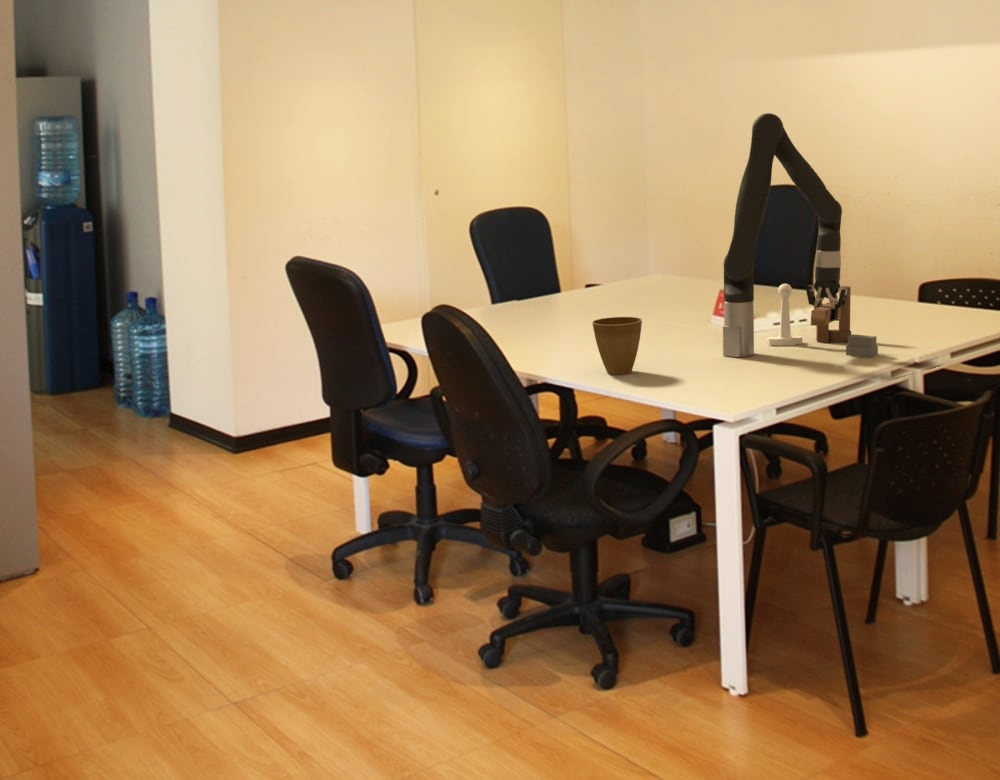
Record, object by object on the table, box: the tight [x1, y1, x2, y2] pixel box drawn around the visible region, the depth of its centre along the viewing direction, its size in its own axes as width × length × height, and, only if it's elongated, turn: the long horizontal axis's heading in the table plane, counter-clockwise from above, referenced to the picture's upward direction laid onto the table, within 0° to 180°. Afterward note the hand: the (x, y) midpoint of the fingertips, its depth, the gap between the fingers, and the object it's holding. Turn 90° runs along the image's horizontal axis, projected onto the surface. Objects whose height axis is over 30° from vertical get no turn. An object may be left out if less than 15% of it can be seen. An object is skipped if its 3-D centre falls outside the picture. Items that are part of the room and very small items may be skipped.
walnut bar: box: [810, 302, 840, 326], centre depth 387 cm, size 18×4×4 cm, turn 150°
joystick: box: [766, 283, 803, 346], centre depth 408 cm, size 11×8×20 cm
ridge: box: [845, 333, 879, 359], centre depth 385 cm, size 5×8×6 cm, turn 45°
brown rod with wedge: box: [815, 285, 852, 343], centre depth 408 cm, size 4×11×18 cm, turn 82°
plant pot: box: [591, 316, 643, 375], centre depth 377 cm, size 15×15×16 cm
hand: (825, 319), depth 387 cm, fingers closed on walnut bar, 4 cm apart
